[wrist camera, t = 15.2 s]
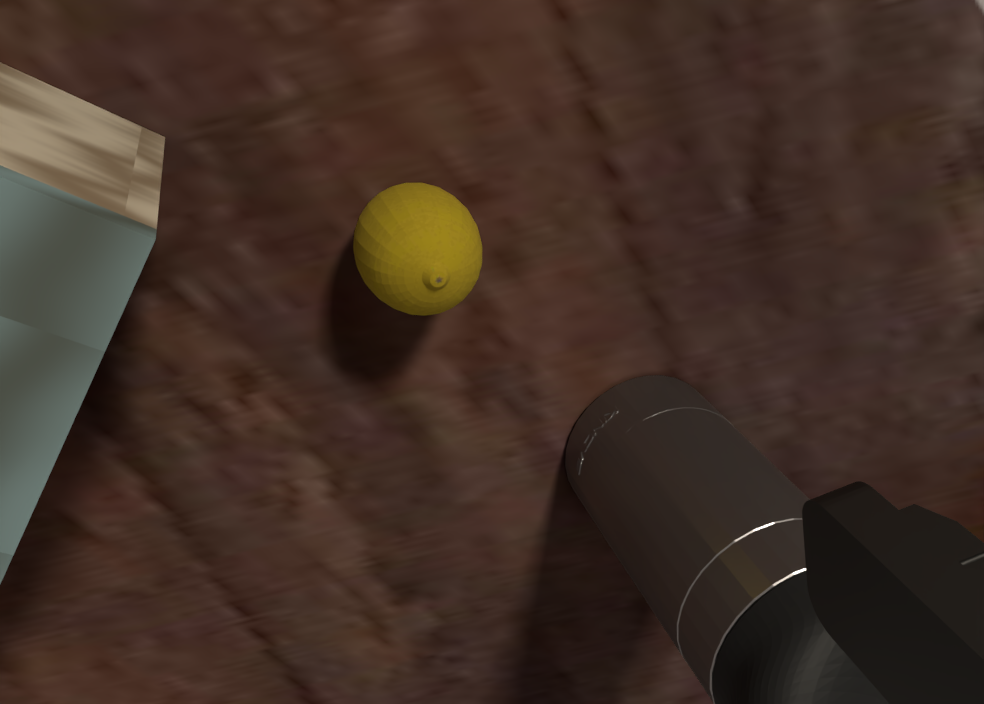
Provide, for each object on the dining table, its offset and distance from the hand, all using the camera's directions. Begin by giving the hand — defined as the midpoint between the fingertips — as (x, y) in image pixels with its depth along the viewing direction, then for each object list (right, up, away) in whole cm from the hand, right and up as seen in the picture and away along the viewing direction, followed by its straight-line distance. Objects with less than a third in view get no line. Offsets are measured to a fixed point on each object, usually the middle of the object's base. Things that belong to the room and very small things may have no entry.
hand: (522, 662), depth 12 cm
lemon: (-5, +10, +33) cm, 35 cm away
